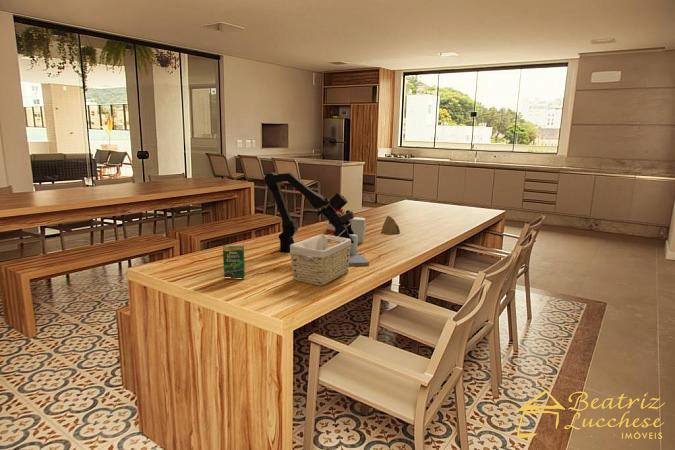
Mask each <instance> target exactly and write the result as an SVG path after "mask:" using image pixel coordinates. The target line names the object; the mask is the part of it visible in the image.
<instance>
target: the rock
mask: <svg viewBox="0 0 675 450" xmlns="http://www.w3.org/2000/svg"><path fill="white" fill-rule="evenodd" d="M380 232H381V234H400V233H401V230H400V227H399V225H398V224H397V222H396V221H395V219H394V218H393V217H392V216H389V215H387V216H386V218H385V220H384V222H383V225H382V227H381V231H380Z"/></svg>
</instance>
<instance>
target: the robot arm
mask: <svg viewBox="0 0 675 450" xmlns="http://www.w3.org/2000/svg"><path fill="white" fill-rule="evenodd" d="M263 179H264V183H265V185H266V187H267V188H268V189H269V191H270V192H271V193H272V196H273V199H274V201H275V204H276V207H277V210H278V212H279V215H280V219H281V228H282V232H281V233H280V234H278V239H279V252H280V253H290V245H291V244H294V243H295V241H294V235H296V234H297V232H298V230H299V225H298V222H297V219H296V218H294V219H293V217H292V216H291V214H290V211H289V209H288V206H287V202H286V200H285V197H284V195H283V192H282V189H281V188H282V186H281V185H282V184H281V183H284V182H287V183H288V184H290V185H291V186H292V187H294V189H295V190H297V191H298V192H299V193H301V194H302V195H303V196H304V197H305V198H306V199H307V201H308V202H309V203H310V205H311V206H312V207H313V208H314V209H318V210H317V217H320V216H321V215H322V216H323V217H324V219H326V220H327V222H329V224H332V226H333V227H334V228H335V231H334V233H333V236H336V237H342V238H349V239H351V243H354V241H353V240H352V238H351V237H350V235H349V234H354V232H353V230H352V228H351V224H352V223H351V219H353V218H354V217H355V215H354V212H353V210H350V209H347V210H346V211H345V213H344V215H341V214H338V213H337V212H336V211H335V210H340V209H343V208H344V207H345V206H346V205H347V204H348V200H347V198H346V197H345V196H344V195H342V194H341V193H340V192H336V193H335V195H334V196H333V197H331V198H326V197H325V196H323V195H322V194H320V193H318V192H316V191H314V190H313V189H311V188H310V187H309V186H307V185H306V184H305V183H304V182H302V181H301V180H300V179H299V178H298V177H297V176H295V175H294V174H293V173H292V172H287V173H286V172H285V173H277V172H274V171H273V172H268V173H266V174H265V175H264V178H263ZM327 205H328V206H327ZM333 208H334V209H335V210H334V209H333Z"/></svg>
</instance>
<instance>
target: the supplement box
mask: <svg viewBox="0 0 675 450" xmlns="http://www.w3.org/2000/svg"><path fill="white" fill-rule="evenodd" d="M366 219H367V218H366V217H355V216H354V218H353V219H351V220H350V221H351V223H352V224H351V223H350V224H351V228H352V230H353V232H354V234H356V235H358V244H359V243H360V244H363V243H364V241H365V238H366V236H365V235H366Z"/></svg>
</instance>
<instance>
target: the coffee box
mask: <svg viewBox="0 0 675 450" xmlns="http://www.w3.org/2000/svg"><path fill="white" fill-rule="evenodd" d="M244 246H245V245H223V246H222V258H223V260H222V261H223V278H224V277H231V278H244V277H246V271H245V270H246V268H245V266H246V265H245V247H244ZM244 279H245V278H244Z"/></svg>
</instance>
